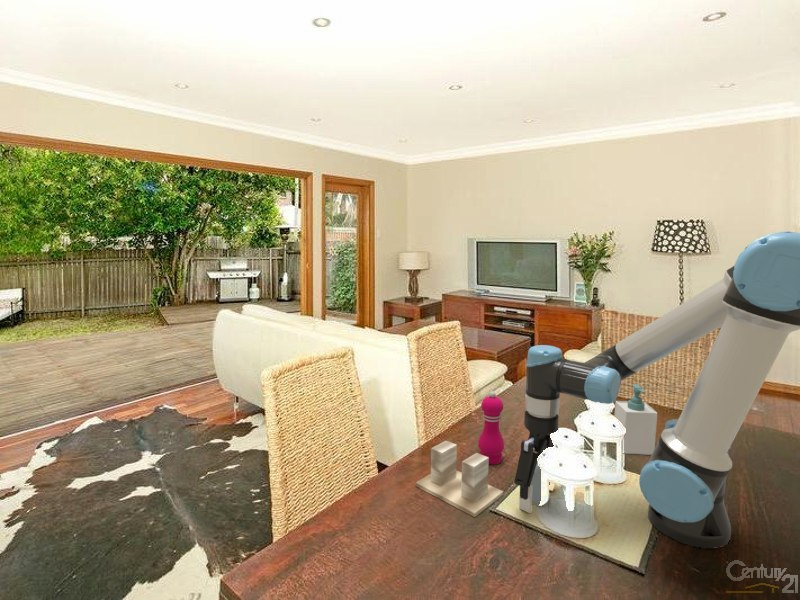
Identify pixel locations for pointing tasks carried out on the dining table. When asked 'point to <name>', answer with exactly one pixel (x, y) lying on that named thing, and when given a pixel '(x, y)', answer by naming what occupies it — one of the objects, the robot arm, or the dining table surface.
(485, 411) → the pepper mill
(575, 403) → the dining table surface
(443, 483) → the two-post base plate
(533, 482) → the blue-grey rectangular block
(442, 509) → the dining table surface
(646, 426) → the soap bottle
